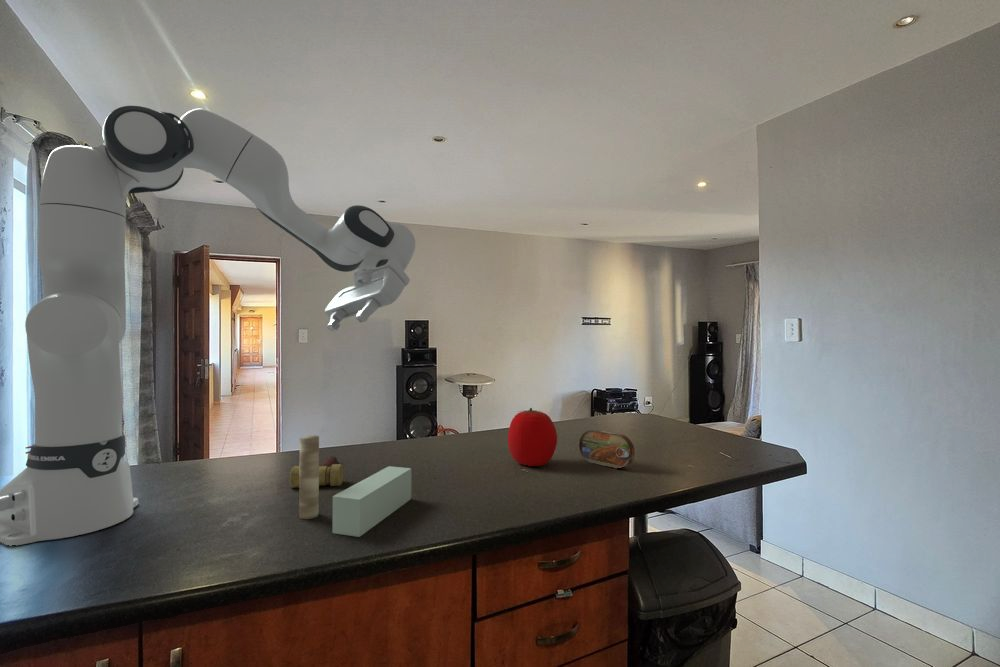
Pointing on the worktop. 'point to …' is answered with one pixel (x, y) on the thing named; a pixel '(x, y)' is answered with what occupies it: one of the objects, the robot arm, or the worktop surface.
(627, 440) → the tin
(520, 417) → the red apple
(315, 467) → the dowel
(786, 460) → the worktop surface
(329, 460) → the gavel
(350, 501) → the pale mint rectangular block
